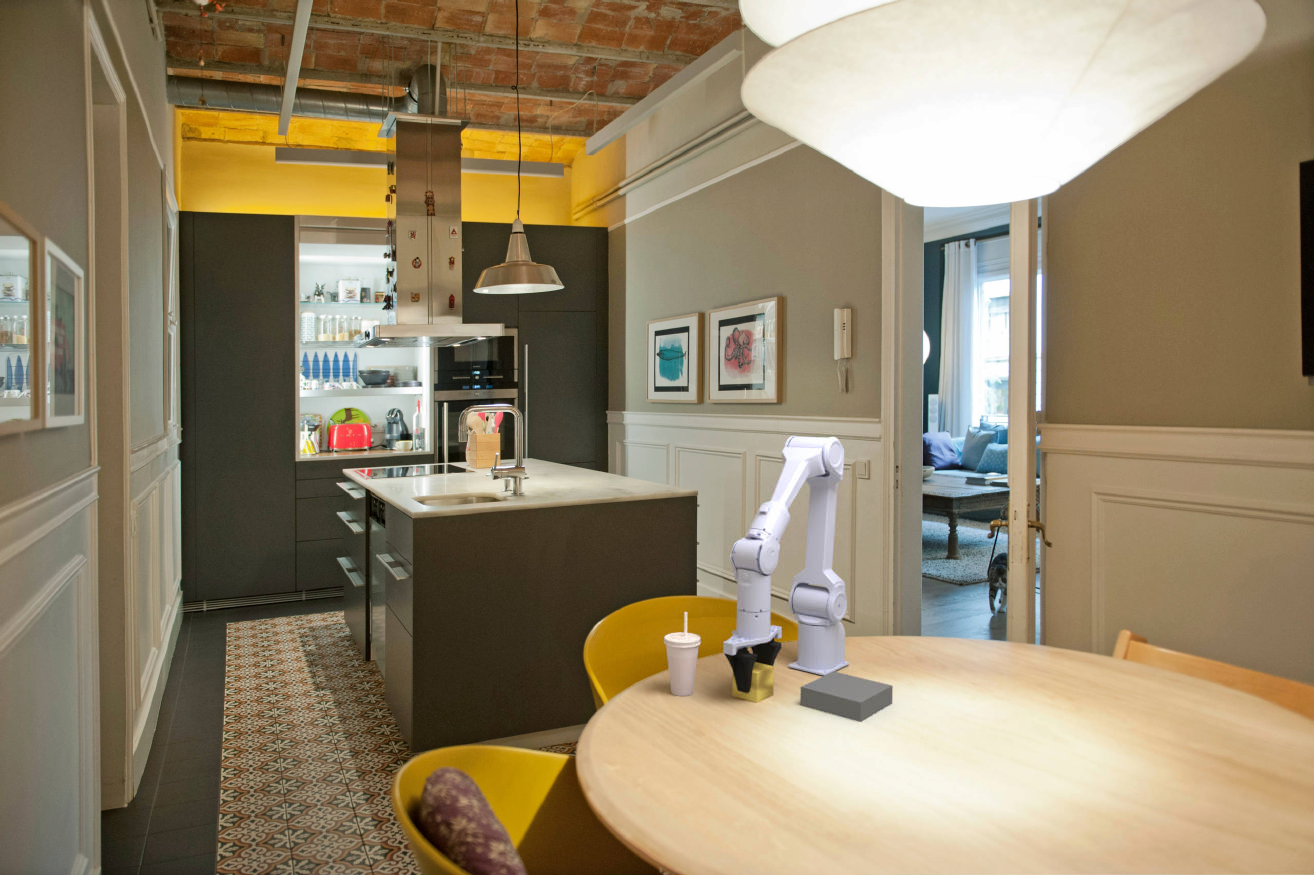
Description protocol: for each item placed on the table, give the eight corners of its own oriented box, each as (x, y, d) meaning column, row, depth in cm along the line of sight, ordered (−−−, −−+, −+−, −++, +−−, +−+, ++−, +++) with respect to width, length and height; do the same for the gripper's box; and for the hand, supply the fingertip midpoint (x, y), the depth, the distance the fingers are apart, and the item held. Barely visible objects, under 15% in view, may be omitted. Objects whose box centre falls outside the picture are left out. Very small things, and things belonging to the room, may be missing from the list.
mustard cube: (749, 688, 147) (749, 660, 147) (773, 695, 144) (773, 666, 143) (732, 696, 143) (732, 667, 143) (756, 702, 140) (756, 673, 140)
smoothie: (701, 699, 141) (701, 617, 141) (663, 698, 142) (663, 616, 141) (700, 686, 148) (700, 608, 147) (663, 686, 148) (664, 607, 147)
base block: (833, 691, 147) (834, 671, 147) (892, 706, 140) (892, 685, 140) (800, 707, 139) (800, 686, 139) (860, 724, 132) (861, 702, 131)
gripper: (758, 597, 151) (758, 672, 151) (709, 612, 140) (708, 692, 140) (792, 604, 146) (791, 681, 147) (743, 619, 135) (742, 702, 136)
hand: (753, 687), depth 143 cm, fingers closed on mustard cube, 5 cm apart
